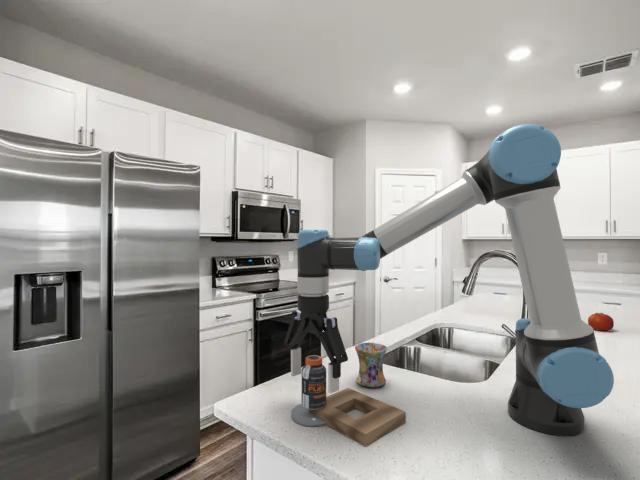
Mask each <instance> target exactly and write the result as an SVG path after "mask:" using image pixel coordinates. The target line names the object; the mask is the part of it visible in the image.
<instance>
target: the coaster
mask: <svg viewBox="0 0 640 480" xmlns="http://www.w3.org/2000/svg"><path fill="white" fill-rule="evenodd" d="M290 417H291V420H292V421H293V422H295V424H297V425H300V426H302V427H309V428H310V427H312V428H315V427H316V428H317V427H318V428H319V427H323V426H328V425H327V422H326V421H324V420H322V419H321V418H319V417H317V416H315V415H313V414H311V413H309V412H308V409H307V408H305V407H303V406H302V403H299V404H297V405H295V406H294V407H293V408H292V409H291V411H290Z"/></svg>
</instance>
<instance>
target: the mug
mask: <svg viewBox="0 0 640 480" xmlns="http://www.w3.org/2000/svg"><path fill="white" fill-rule="evenodd" d="M354 349H355V352H356V355H357V359H358V363H359V366H358V367H359V370H358V374H357V377H356V382H357V384H359V385H360V386H363V387H366V388H379V387H382V386H384V385H385V384H386V381H387V380H386V378H385V377H386V376H385V375H384V371H383V369H384V367H383V366H384V364H383V363H384V358H385V354H386V353H387V350H388V347H387V346H386V345H384V344H382V343H379V342H360V343H358V344H355V346H354Z"/></svg>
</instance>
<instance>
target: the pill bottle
mask: <svg viewBox="0 0 640 480" xmlns="http://www.w3.org/2000/svg"><path fill="white" fill-rule="evenodd" d="M326 397H327V367H326V366H325V365H323V357H322V356H321V355H316V354H311V355H308V356H305V362H304V365H303V366H302V367H301V400H300V401H301V404H302V406H303V407H305V408H307V409H320V408H323V407H324V406H325V405H326Z"/></svg>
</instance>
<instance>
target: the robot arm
mask: <svg viewBox="0 0 640 480" xmlns="http://www.w3.org/2000/svg"><path fill="white" fill-rule="evenodd" d="M561 155H562V148H561V143H560V141H559V139H558V137H557V136H556V135H555V134H554V132H552V131H551V130H550V129H548V128H545V127H544V126H542V125H539V124H535V123H534V124H533V123H523V124H518V125H514V126H511V127H510V128H508V129H506V130H504V131H503V132H501V133H500V134H499V135H498V136H497V137H495V138H494V140H493V141H492V142H491V144H490V147H489V150H488V151H486V153H485V154H484V155H483V157H481V159H479V160H478V161H477V162H476V163H475V164H473V165H472V166H471V167H469V168H468V169H466V170H464V171H463V172H462V175H461V177H460V178H459V179H457V180H455V181H454V182H451V183H450V184H448V185H446V186H445V187H444V188H442V189H440V190H438V191H436V192H434V194H432V195H430V196H428V197H427V198H425V199H423V200H421V201H420V202H418V203H416V204H415V205H413V206H411V207H410V208H408V209H406V210H405V211H403V212H401V213H400V214H398V215H395V216H394V217H393V218H390V219H389V220H387V221H385V222H384V223H383V224H381V225H379V226H378V227H376V228H374V229H373V230H371V231H369V232H367V233H365V234H364V235H362V236H360V237H330V234H329V233H330V232H329V231H328V230H327V229H301V230H300V231H299V232H298V235H297V245H296V252H297V253H296V256H297V277H296V278H297V283H296V284H297V285H296V286H297V287H296V288H297V293H298V295H297V309H296V310H292V311H291V318H290V319H291V320H290V323H289V325H288V328H287V333H286V335H285V338H284V341H283V342H284V345H285V346H288V349H289V359H290V377H295V376H298V375H302V348H301V343H302V342H303V340H304V339H305V337H307V334H312V335H315V336H316V338H318V339H319V341H320V343H321V345H322V346H323V349H324V351H325V354H326V355H327V357H328V360H329V361H330V362H329V363H328V364H327V376H328V377H327V381H328V382H327V385H328V386H327V388H328V393H329V394H334V393H337V392H339V391H340V378H341V375H342V372H341V371H342V367H341V366H342V365H341V364H343V363H345V362H348V361H349V357H348V353H347V352H346V351H347V350H346V348H345V344H344V342H343V338H342V336H341V333H340V330H339V327H338V326H339V324H338V318H337V317H336V316H335V317H331V318H330V317H328V315H327V312H328V311H329V310H330V296H329V294H328V293H329V292H330V291H329V289H330V282H329V281H330V277H329V276H330V270H334V271H335V270H341V271H342V270H345V271H346V270H347V271H361V272H365V271H376V270H378V268H379V266H380V261H381V259H383V258H384V257H387V256H388V255H390V254H391V253H392V252H395V251H396V250H398V249H400V248H402V247H403V246H405V245H408V244H409V243H411V242H413V241H415V240H416V239H418V238H420V237H421V236H424V235H425V234H428V233H429V232H431V231H432V230H434V229H436V228H437V227H439V226H441V225H443V224H445V223H447V222H448V221H451V220H452V219H455V217H458V216H459V215H461V214H463V213H465V212H466V211H468V210H470V209H472V208H474V207H475V206H477V205H482V206H486V205H487V204H489V203H490V202H491V203H492V202H493V201H494V202H495V203H496V204H497V205H498V206H499V205H500V206H501V207H503V209H504V210H505V214H506V218H507V223H508V227H509V232H510V237H511V241H512V246H513V251H514V255H515V259H516V264H517V268H518V273H519V278H520V282H521V287H522V290H523V291H522V292H523V296H524V300H525V305H526V310H527V314H528V317H527V318H525V317H524V318H519V319H518V320H517V321H516V322H515V329H514V334H515V382H514V385H513V387H512V389H511V393H510V395H509V398H508V401H507V413H508V415H509V416H510V418H512V419H513V420H514V421H516V422H517V423H518V424H520V425H522V426H524V427H526V428H528V429H531V430H535V431H538V432H540V433H544V434H550V435H556V436H575V435H579V434H581V433H583V432H585V429H586V428H585V427H586V422H585V421H586V420H585V414H584V412H583V410H582V409H585V408H591V407H594V406H596V405H598V404H600V403H602V402H603V401H604V400H605V399H606V398H607V397H608V396H610V394H611V392H612V390H613V388H614V383H615V379H614V378H615V377H614V372H613V369H612V368H611V366H610V364H609V363H608V362H607V360H606V358H605V357H604V356H602V354H600V352H599V347H598V343H597V339H596V336H595V332H594V330H595V329H593V328H592V327H591V326H590V325H589V324H588V322H585V321H584V320H583V319H582V317H581V313H580V307H579V304H578V300H577V296H576V291H575V286H574V283H573V278H572V273H571V268H570V264H569V260H568V256H567V251H566V247H565V243H564V238H563V234H562V230H561V225H560V220H559V217H558V213H557V209H556V207H557V206H556V203H555V200H554V199H555V196H556V195H558V192H559V191H560V190H561V188H562V187H561V183H560V179H559V174H558V170H557V168H558V166H559V164H560V162H561Z"/></svg>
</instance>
